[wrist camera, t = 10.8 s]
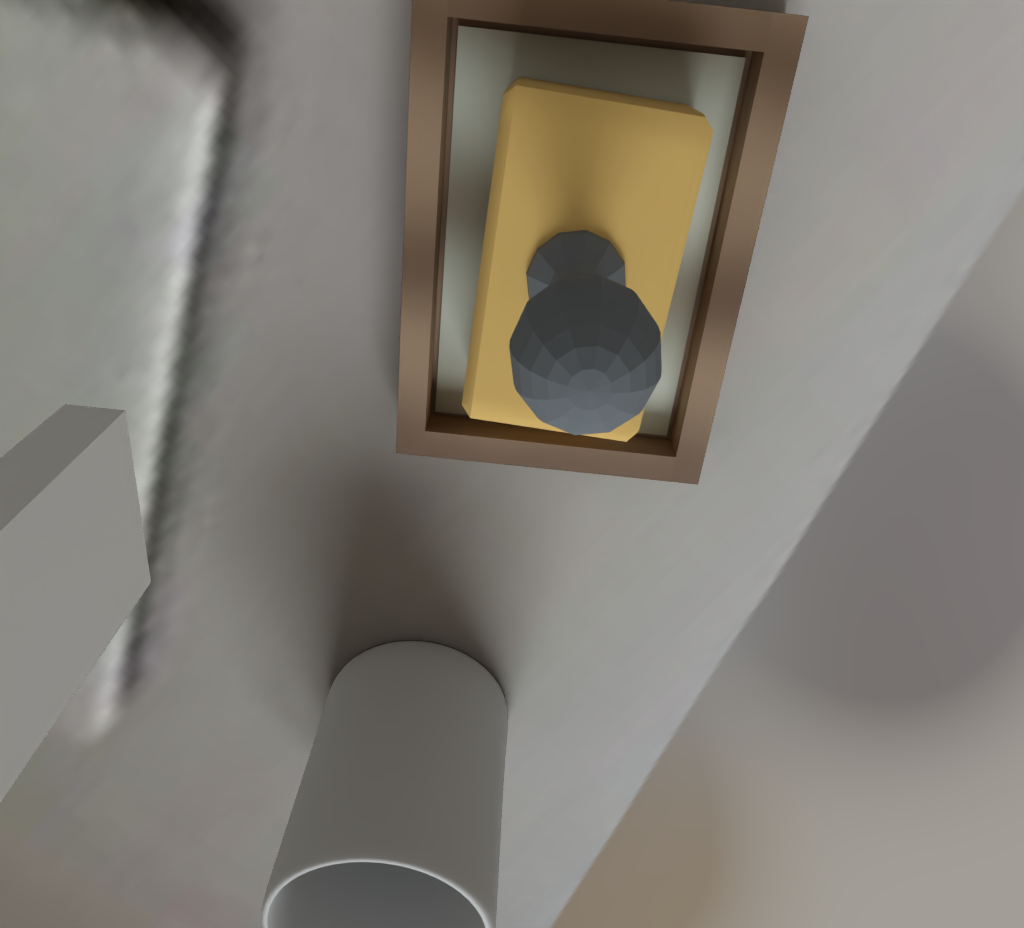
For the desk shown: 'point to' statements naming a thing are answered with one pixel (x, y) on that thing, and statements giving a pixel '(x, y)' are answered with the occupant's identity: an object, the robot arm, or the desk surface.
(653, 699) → the desk surface
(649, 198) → the rubber stamp
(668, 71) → the tray
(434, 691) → the mug
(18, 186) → the desk surface
